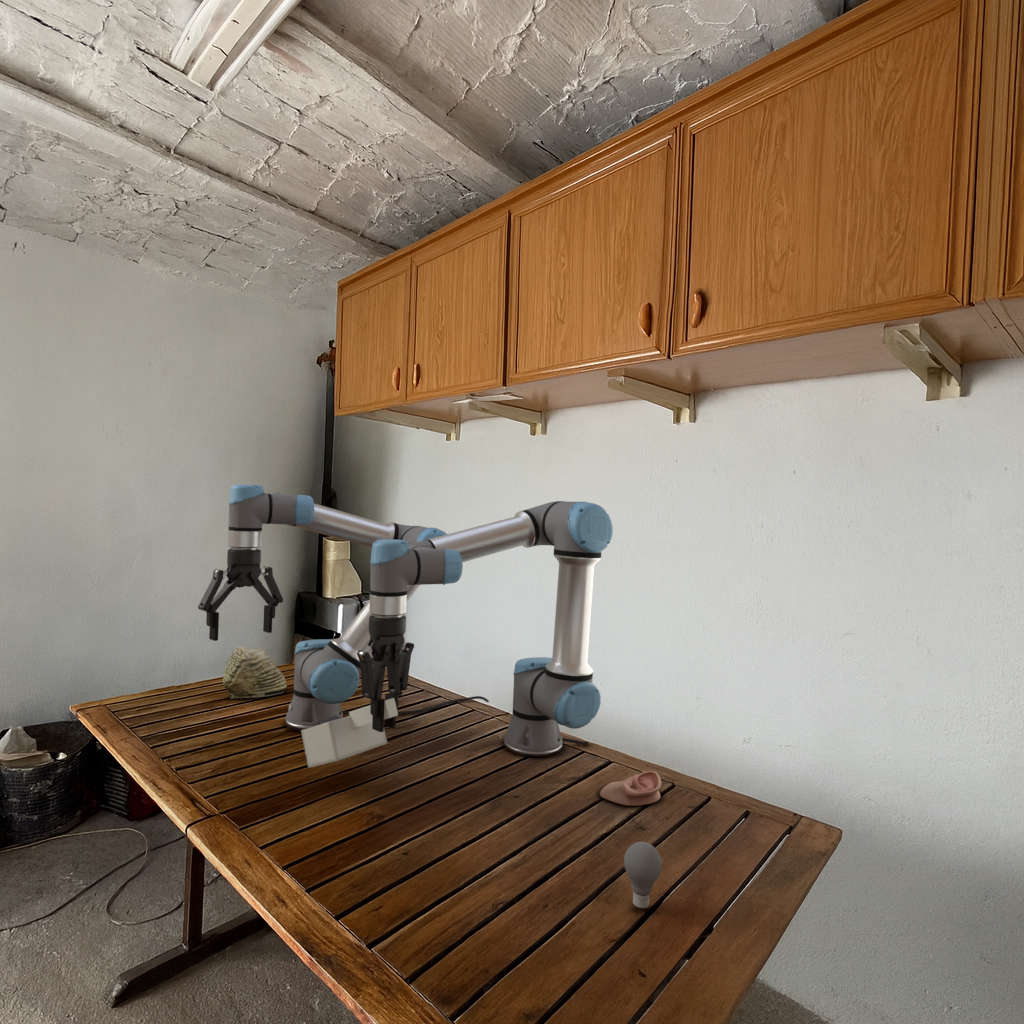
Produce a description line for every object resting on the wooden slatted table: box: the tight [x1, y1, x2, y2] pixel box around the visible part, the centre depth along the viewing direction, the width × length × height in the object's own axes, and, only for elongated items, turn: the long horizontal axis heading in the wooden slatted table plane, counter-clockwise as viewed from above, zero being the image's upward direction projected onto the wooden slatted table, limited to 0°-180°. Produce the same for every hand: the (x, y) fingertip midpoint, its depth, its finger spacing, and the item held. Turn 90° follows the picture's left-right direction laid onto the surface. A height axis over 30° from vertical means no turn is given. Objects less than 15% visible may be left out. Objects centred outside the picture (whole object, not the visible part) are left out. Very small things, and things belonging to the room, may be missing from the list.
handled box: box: [300, 698, 399, 769], centre depth 136 cm, size 13×24×9 cm, turn 51°
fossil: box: [222, 646, 288, 699], centre depth 198 cm, size 9×18×15 cm, turn 132°
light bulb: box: [623, 841, 663, 909], centre depth 102 cm, size 6×6×10 cm
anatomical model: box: [599, 770, 662, 806], centre depth 141 cm, size 13×4×12 cm
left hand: (241, 635), depth 153 cm, fingers open, 13 cm apart
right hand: (383, 727), depth 131 cm, fingers closed on handled box, 2 cm apart
